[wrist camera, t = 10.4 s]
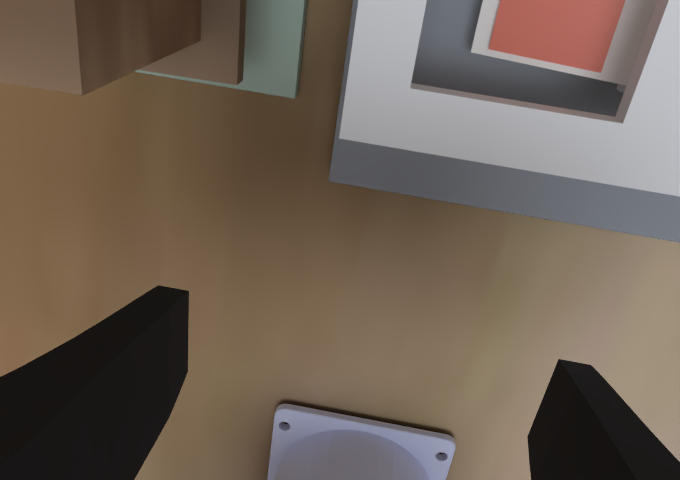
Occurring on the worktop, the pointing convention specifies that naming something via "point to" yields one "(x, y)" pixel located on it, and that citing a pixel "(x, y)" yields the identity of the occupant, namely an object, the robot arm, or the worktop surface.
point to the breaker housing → (508, 122)
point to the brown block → (119, 41)
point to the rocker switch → (566, 35)
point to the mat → (269, 48)
